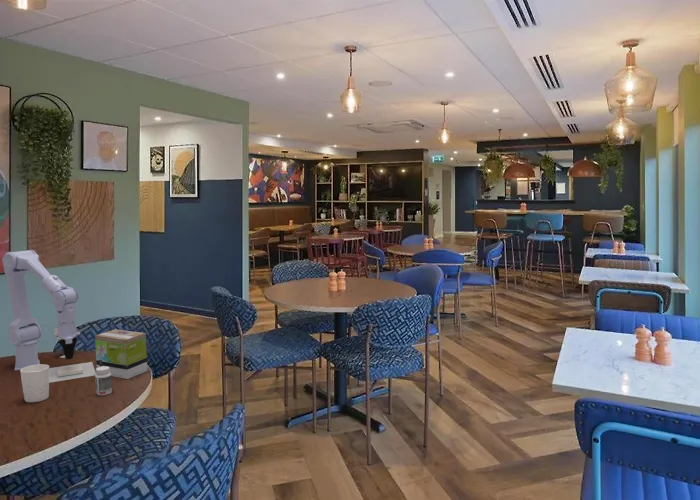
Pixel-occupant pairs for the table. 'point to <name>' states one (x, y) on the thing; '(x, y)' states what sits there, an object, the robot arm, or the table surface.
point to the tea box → (122, 352)
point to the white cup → (35, 382)
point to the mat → (87, 371)
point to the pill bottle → (103, 381)
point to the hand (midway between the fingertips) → (69, 358)
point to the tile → (70, 370)
